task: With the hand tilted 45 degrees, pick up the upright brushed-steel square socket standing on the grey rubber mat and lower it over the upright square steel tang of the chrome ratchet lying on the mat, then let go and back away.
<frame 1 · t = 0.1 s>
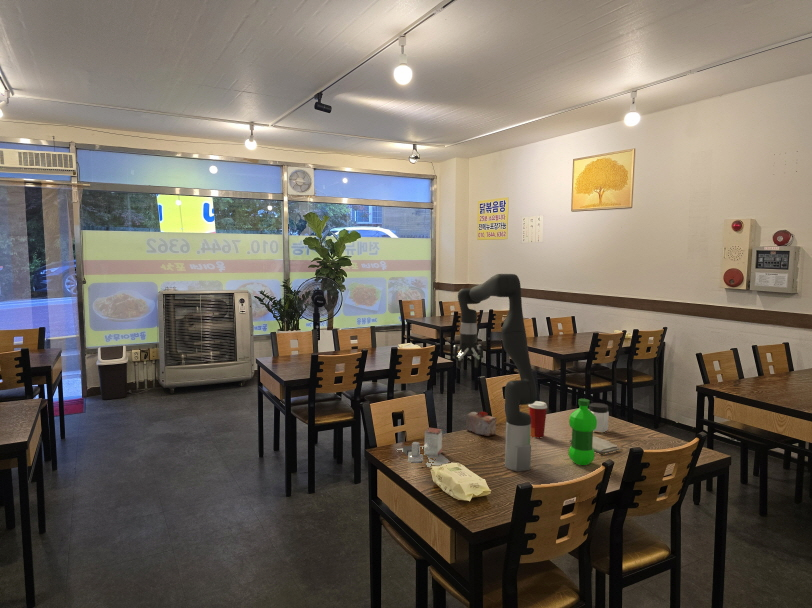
hand: (467, 367, 243), 29 cm above the table, tool pointing down, fingers open, 8 cm apart
washcloth: (594, 448, 226), on the table
food item: (481, 433, 242), on the table
mat: (423, 457, 211), on the table
jar: (597, 430, 248), on the table
plastic bottle: (581, 463, 207), on the table
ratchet: (415, 460, 206), resting on mat
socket: (433, 453, 214), resting on mat
coffee cup: (536, 436, 239), on the table
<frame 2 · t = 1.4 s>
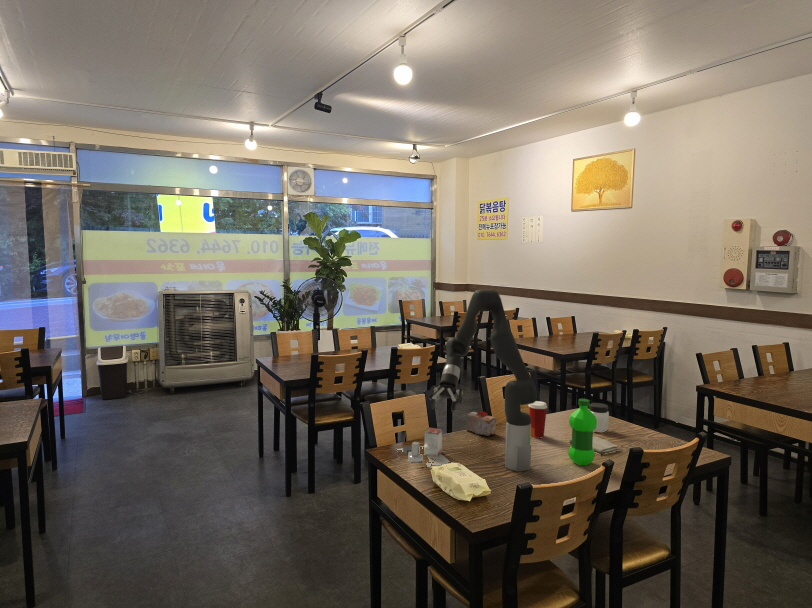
hand: (442, 409, 224), 15 cm above the table, tool tilted 45°, fingers open, 8 cm apart
nothing on the table moved.
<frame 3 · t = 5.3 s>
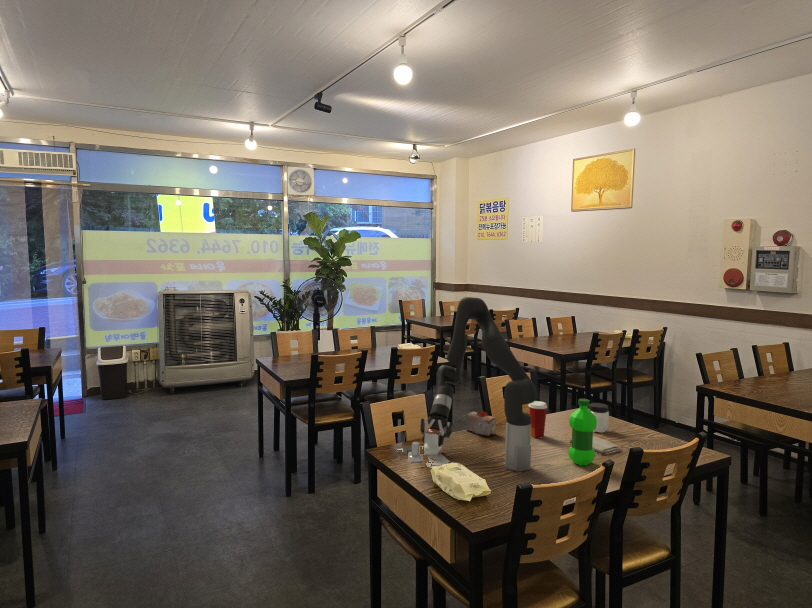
hand: (432, 444, 212), 5 cm above the table, tool tilted 45°, fingers closed on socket, 5 cm apart
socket: (433, 453, 214), resting on mat, touching gripper
everything else where it was.
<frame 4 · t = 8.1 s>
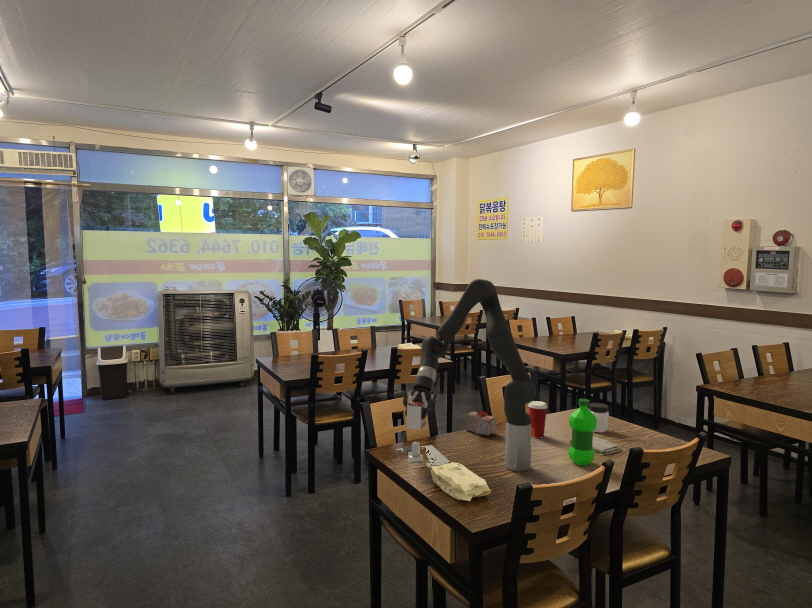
hand: (414, 417, 203), 18 cm above the table, tool tilted 45°, fingers closed on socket, 5 cm apart
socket: (416, 426, 205), point 14 cm above the table, touching gripper
everything else where it was.
when the fingers open (8 cm above the table, at t = 10.9 s): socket drops 1 cm, resting on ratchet.
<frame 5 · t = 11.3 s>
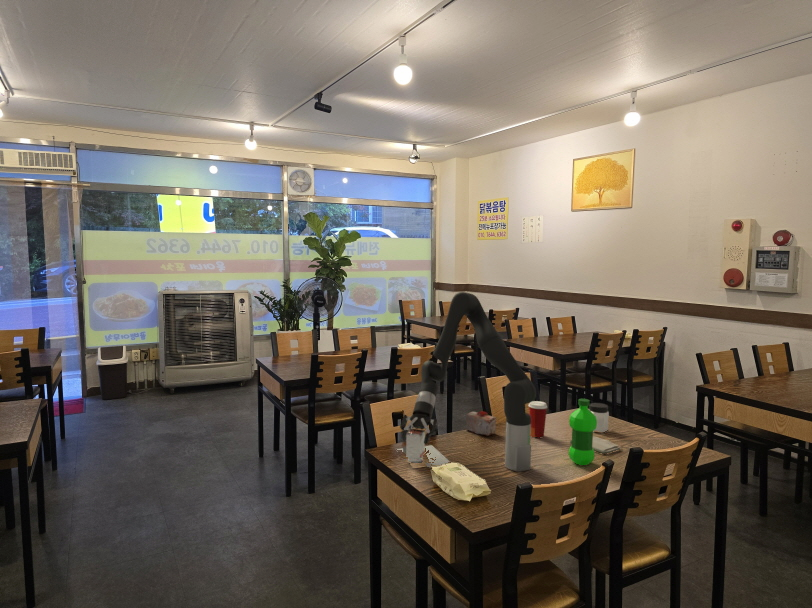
hand: (414, 442, 204), 8 cm above the table, tool tilted 45°, fingers open, 8 cm apart
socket: (415, 455, 206), point 2 cm above the table, touching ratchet
everything else where it was.
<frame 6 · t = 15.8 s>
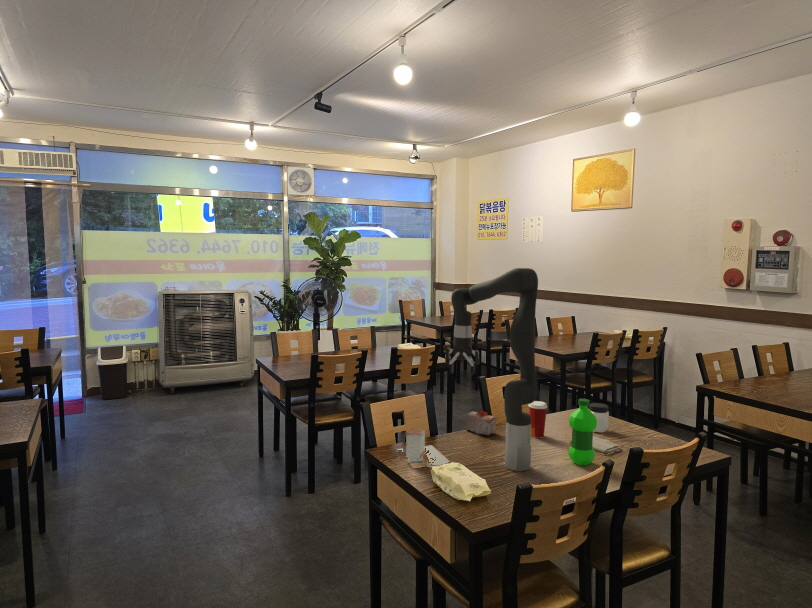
hand: (461, 373, 225), 30 cm above the table, tool pointing down, fingers open, 8 cm apart
nothing on the table moved.
at the end: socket 0.1 cm off-centre on the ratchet, point 2.0 cm above the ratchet's base; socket tilted 0°; the gripper is holding nothing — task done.
